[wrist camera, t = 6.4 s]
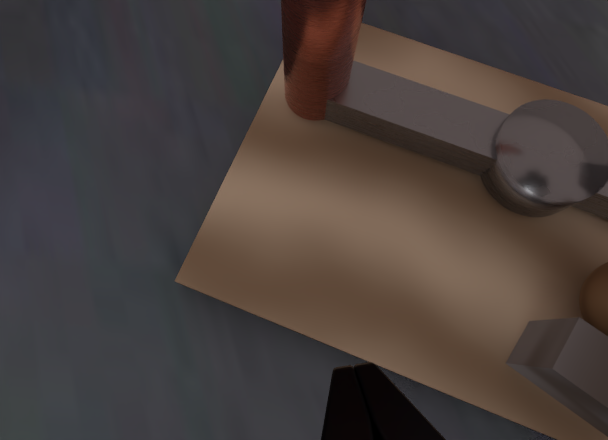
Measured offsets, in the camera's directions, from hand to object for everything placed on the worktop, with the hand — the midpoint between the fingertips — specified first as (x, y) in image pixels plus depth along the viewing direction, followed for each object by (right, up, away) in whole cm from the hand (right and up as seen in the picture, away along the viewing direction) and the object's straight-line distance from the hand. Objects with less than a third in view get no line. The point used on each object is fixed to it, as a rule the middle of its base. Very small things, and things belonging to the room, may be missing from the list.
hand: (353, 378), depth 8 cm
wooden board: (+6, +4, +10) cm, 12 cm away
